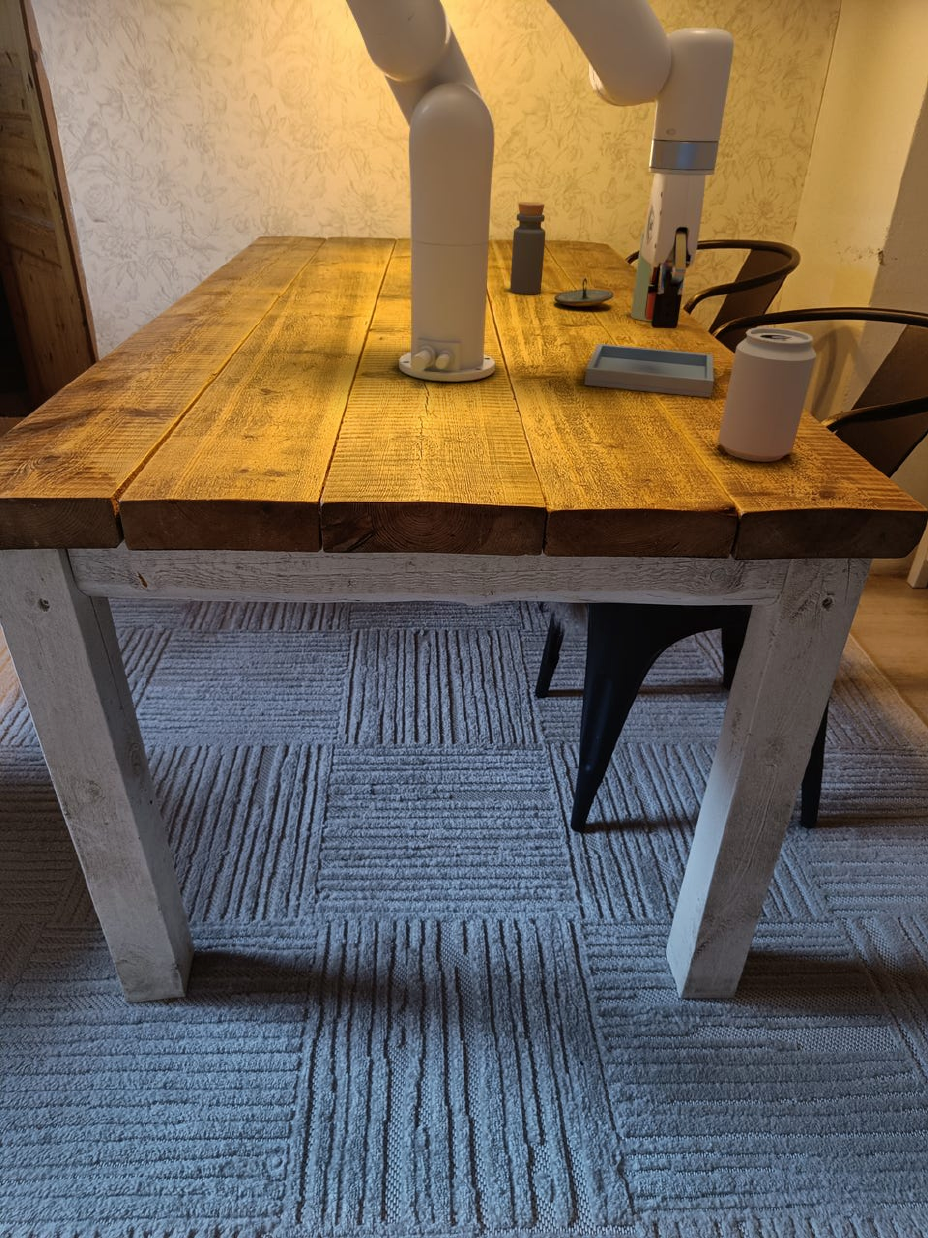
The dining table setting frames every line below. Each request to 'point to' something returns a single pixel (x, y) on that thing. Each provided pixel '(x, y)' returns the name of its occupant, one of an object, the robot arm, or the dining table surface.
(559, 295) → the lid
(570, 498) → the dining table surface
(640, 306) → the water bottle
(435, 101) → the robot arm
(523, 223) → the bottle
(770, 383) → the can
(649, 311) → the cap
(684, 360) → the tray
